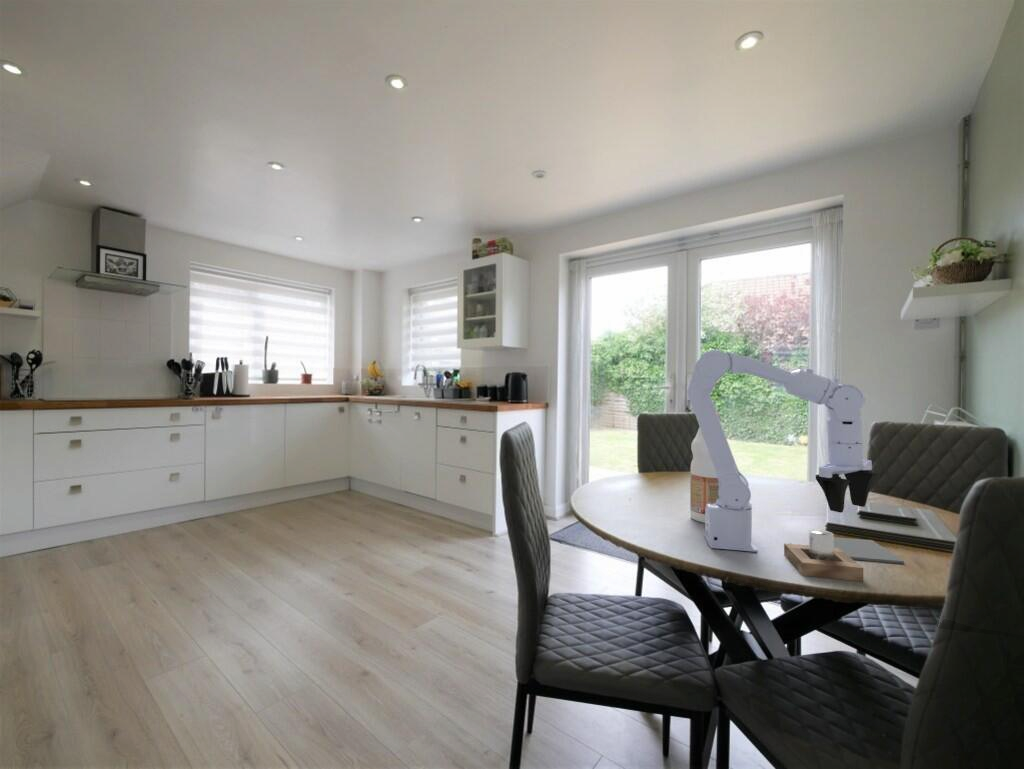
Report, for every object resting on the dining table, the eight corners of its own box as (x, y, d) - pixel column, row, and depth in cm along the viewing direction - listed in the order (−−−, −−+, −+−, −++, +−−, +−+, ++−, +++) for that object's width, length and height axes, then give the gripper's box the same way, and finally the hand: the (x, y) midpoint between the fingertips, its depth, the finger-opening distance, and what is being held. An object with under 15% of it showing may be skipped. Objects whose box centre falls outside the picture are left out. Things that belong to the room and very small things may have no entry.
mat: (835, 557, 93) (836, 555, 93) (812, 537, 105) (812, 535, 105) (904, 563, 90) (904, 561, 90) (872, 542, 102) (872, 540, 102)
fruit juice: (684, 519, 119) (685, 414, 118) (697, 511, 125) (698, 412, 125) (721, 527, 112) (722, 416, 112) (733, 518, 119) (734, 414, 119)
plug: (813, 570, 87) (814, 535, 87) (805, 562, 91) (805, 528, 91) (837, 572, 86) (837, 536, 86) (828, 564, 90) (828, 530, 90)
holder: (802, 575, 85) (802, 562, 85) (784, 555, 95) (784, 543, 95) (863, 581, 83) (863, 567, 83) (838, 559, 92) (838, 547, 92)
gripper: (844, 447, 85) (847, 519, 85) (887, 440, 91) (890, 507, 91) (807, 444, 92) (810, 510, 92) (849, 437, 98) (852, 500, 98)
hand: (847, 508), depth 92 cm, fingers open, 7 cm apart
